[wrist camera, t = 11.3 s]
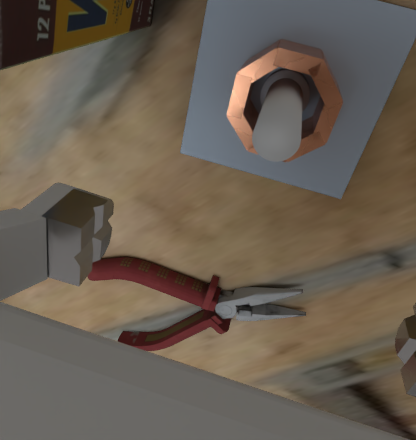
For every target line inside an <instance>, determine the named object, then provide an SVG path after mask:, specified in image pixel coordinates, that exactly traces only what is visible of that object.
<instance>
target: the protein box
mask: <svg viewBox="0 0 416 440" xmlns="http://www.w3.org/2000/svg"><path fill="white" fill-rule="evenodd" d="M153 4H154V0H0V70H3V69H7V68H10V67H13V66H17V65H20V64H24V63H27V62H30V61H33V60H37V59H40V58H44V57H47V56H50V55H54V54H58V53H61V52H64V51H67V50H72V49H75V48H78V47H82V46H85V45H89V44H92V43H95V42H99V41H102V40H106V39H109V38H112V37H116V36H119V35H122V34H126V33H128V32H132V31H135V30H138V29H142V28H145V27H149V26H150V25H151V18H152V11H153Z"/></svg>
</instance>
